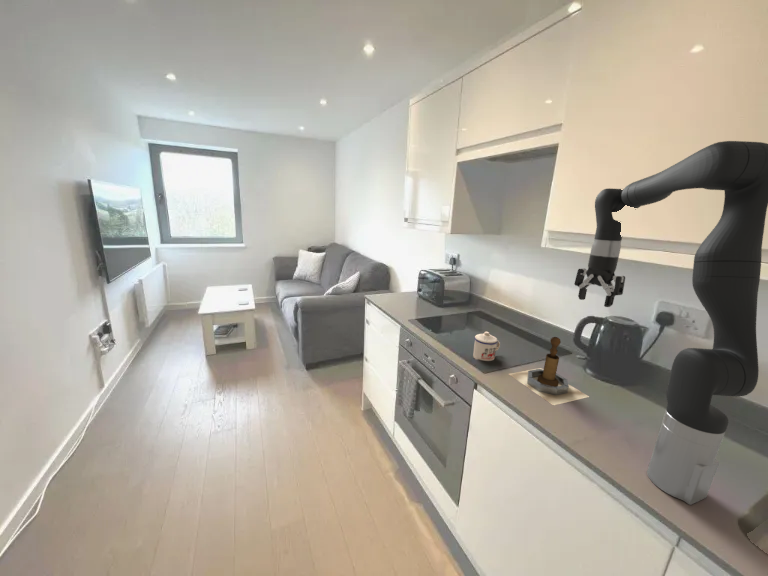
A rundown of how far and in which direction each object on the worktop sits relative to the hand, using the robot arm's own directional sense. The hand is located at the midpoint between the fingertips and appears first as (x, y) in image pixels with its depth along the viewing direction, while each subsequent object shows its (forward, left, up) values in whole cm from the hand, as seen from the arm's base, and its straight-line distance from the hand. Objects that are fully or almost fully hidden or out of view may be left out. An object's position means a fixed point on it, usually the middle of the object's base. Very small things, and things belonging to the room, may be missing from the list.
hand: (594, 302), depth 101 cm
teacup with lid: (+28, +17, -32) cm, 45 cm away
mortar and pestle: (+3, +11, -31) cm, 33 cm away
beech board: (+3, +11, -31) cm, 33 cm away
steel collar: (+3, +11, -30) cm, 32 cm away
